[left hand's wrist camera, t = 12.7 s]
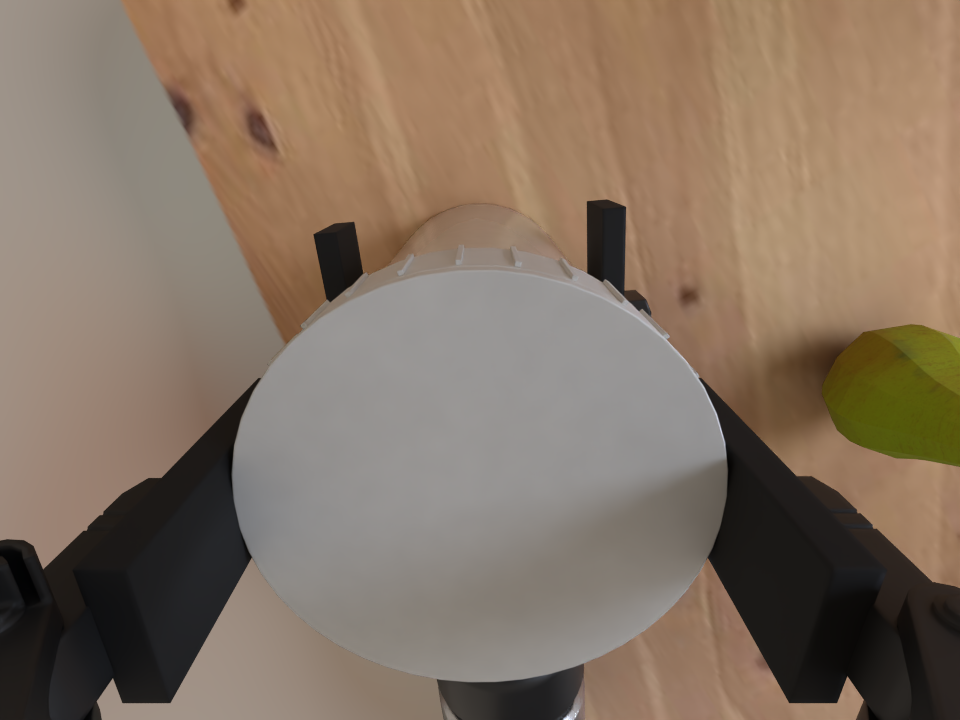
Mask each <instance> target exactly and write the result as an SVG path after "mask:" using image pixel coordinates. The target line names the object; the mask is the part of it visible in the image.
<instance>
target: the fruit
mask: <svg viewBox="0 0 960 720" xmlns="http://www.w3.org/2000/svg"><path fill="white" fill-rule="evenodd" d="M822 395H823V398H824V400H825V403H826V405H827V408H828V410H829V413H830V415H831V418H832V420H833V422H834V424H835V426H836V429H837V430H838V431H839V432H840V433H841V434H842V435H844V436H845V437H846V438H847V439H848V440H849V441H851V442H853V443H855V444H858V445H860V446H862V447H865V448H867V449H870V450H873V451H876V452H879V453H882V454H885V455H888V456H891V457H894V458H904V459H919V460H927V461H932V462H937V463H943V464H948V465H953V466H959V467H960V338H957V337H955V336H952V335H949V334H946V333H943V332H940V331H937V330H934V329H931V328H928V327H925V326H922V325H912V324H910V325H904V326H898V327H892V328H886V329H880V330H874V331H868V332H863V333H862V334H861V335H860V336H859V337H858V338H857V339H856V340H855V341H854V342H852V343H851V344H850V345H849V346H848V347H847V348H846V349H845V350H844V351H843V352H842V353H841V354H840V355H839V356H838V357H837V358H836V360H835V362H834V364H833V366H832V367H831V369H830V371H829V373H828V375H827V377H826V379H825V381H824V383H823V385H822Z"/></svg>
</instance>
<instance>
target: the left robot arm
mask: <svg viewBox="0 0 960 720" xmlns="http://www.w3.org/2000/svg"><path fill="white" fill-rule="evenodd" d="M698 379H699V380H700V382H701V383H702V384H703V386H704V388H705V390H706V392H707V394H708V396H709V398H710V400H711V403H712V405H713V407H714V409H715V411H716V413H717V416H718V420H719V423H720V427H721V430H722V434H723V437H724V441H725V448H726V456H727V465H728V483H727V498H726V503H725V507H724V512H723V517H722V522H721V526H720V529H719V532H718V535H717V537H716V540H715V543H714V546H713V548H712V550H711V552H710V554H709V556H708V559H709V560H710V562H711V564H712V566H713V568H714V569H715V571H716V573H717V575H718V576H719V578H720V580H721V582H722V584H723V585H724V587H725V589H726V591H727V593H728V594H729V596H730V598H731V600H732V601H733V603H734V605H735V607H736V609H737V610H738V612H739V614H740V616H741V618H742V619H743V621H744V623H745V625H746V626H747V628H748V630H749V632H750V634H751V635H752V637H753V639H754V641H755V643H756V644H757V646H758V648H759V650H760V651H761V653H762V655H763V657H764V659H765V660H766V662H767V664H768V666H769V668H770V669H771V671H772V673H773V675H774V676H775V678H776V680H777V682H778V684H779V685H780V687H781V689H782V691H783V693H784V694H785V696H786V698H787V700H788V702H789V703H837V702H838V699H839V697H840V694H841V691H842V689H843V686H844V683H845V681H846V678H847V676H848V677H849V679H850V680H851V682H852V683H853V685H854V686H855V687H856V689H857V690H858V692H859V693H860V695H861V696H862V697H863V699H864V701H863V704H862V706H861V709H860V711H859V714H858V716H857V719H856V720H960V588H958V587H955V586H950V585H945V584H940V583H935V582H932V581H931V580H930V579H929V578H928V577H927V576H926V575H925V574H924V573H922V572H921V571H920V570H919V569H918V568H917V567H916V566H915V565H914V564H913V563H912V562H911V561H910V560H909V559H908V558H907V557H906V556H905V555H904V554H903V553H901V552H900V551H899V550H898V549H897V548H896V547H895V546H894V545H893V544H892V543H891V542H890V541H889V540H888V539H887V538H886V537H885V536H884V535H883V534H882V533H881V532H879V531H878V530H877V529H873V527H872V526H873V525H872V524H871V523H870V522H869V521H868V520H867V519H866V518H865V517H864V516H863V515H862V514H861V513H857V510H856V509H855V508H854V507H853V506H852V505H851V504H850V503H849V502H848V501H847V500H846V499H845V498H844V497H843V496H842V495H841V494H840V493H839V492H837V491H836V490H834V489H832V488H831V487H829V486H827V485H825V484H824V483H822V482H820V481H819V480H817V479H815V478H813V477H812V476H796V475H795V474H794V473H793V472H792V471H791V470H790V469H789V468H788V467H787V466H786V465H785V464H784V463H783V462H782V461H781V460H780V459H779V458H778V457H777V456H776V455H775V454H774V453H773V452H772V451H771V450H770V448H769V447H768V446H767V445H766V444H765V443H764V442H763V441H762V440H761V439H760V438H759V437H758V436H757V435H756V434H755V433H754V432H753V431H752V430H751V429H750V428H749V427H748V426H747V425H746V424H745V423H744V422H743V421H742V420H741V419H740V418H739V417H738V416H737V415H736V413H735V412H734V411H733V410H732V409H731V408H730V407H729V406H728V405H727V404H726V403H725V402H724V401H723V400H722V399H721V398H720V397H719V396H718V395H717V394H716V393H715V392H714V391H713V390H712V389H711V388H710V387H709V386H708V385H707V384H706V383H705V382H704V381H703V380H702V378H698ZM260 380H261V378H258V379H257V380H256V381H255V382H254V383H253V384H252V385H251V386H250V388H248V390H247V391H246V392H245V393H244V394H243V395H242V396H241V397H240V398H239V399H238V400H237V401H236V402H235V403H234V404H233V405H232V406H231V407H230V408H229V409H228V410H227V411H226V412H225V413H224V414H223V415H222V416H221V417H220V418H219V419H218V420H217V421H216V422H215V423H214V424H213V425H212V427H211V428H210V429H209V430H208V431H207V432H206V433H205V434H204V435H203V436H202V437H201V438H200V439H199V440H198V441H197V442H196V443H195V444H194V445H193V446H192V447H191V448H190V449H189V450H188V451H187V452H186V453H185V454H184V455H183V456H182V457H181V458H180V459H179V460H178V462H177V463H176V464H175V465H174V466H173V467H172V468H171V469H170V470H169V471H168V472H167V473H166V474H165V475H164V476H163V477H162V478H148V479H146V480H145V481H143V482H141V483H139V484H138V485H136V486H134V487H133V488H131V489H129V490H128V491H126V492H124V493H123V494H121V495H120V496H119V497H118V498H117V499H116V500H115V501H114V502H113V503H112V504H111V505H110V506H109V507H108V508H107V509H106V510H105V511H104V513H103V515H100V516H98V517H97V518H96V519H95V520H94V521H93V522H92V523H91V524H90V525H89V526H88V529H87V531H83V532H82V533H81V534H80V535H79V536H78V537H77V538H76V539H75V540H73V541H72V542H71V543H70V544H69V545H68V546H67V547H66V548H65V549H64V550H63V551H62V552H61V553H60V554H59V555H58V556H57V557H56V558H55V559H54V560H53V561H52V562H51V563H50V564H49V565H47V566H46V567H45V568H44V569H43V568H42V566H41V563H40V561H39V559H38V556H37V554H36V551H35V549H34V546H33V545H31V544H29V543H28V542H26V541H24V540H9V539H7V540H1V541H0V720H102V719H101V713H100V709H99V706H98V704H97V700H98V699H99V697H100V696H101V694H102V693H103V691H104V690H105V688H106V687H107V685H108V684H109V683H110V681H111V680H112V678H113V679H114V682H115V684H116V687H117V690H118V692H119V695H120V698H121V700H122V703H171V701H172V699H173V697H174V696H175V694H176V692H177V690H178V688H179V687H180V685H181V683H182V681H183V679H184V678H185V676H186V674H187V672H188V671H189V669H190V667H191V665H192V663H193V662H194V660H195V658H196V656H197V654H198V653H199V651H200V649H201V647H202V646H203V644H204V642H205V640H206V638H207V637H208V635H209V633H210V631H211V629H212V628H213V626H214V624H215V622H216V621H217V619H218V617H219V615H220V613H221V612H222V610H223V608H224V606H225V604H226V603H227V601H228V599H229V597H230V595H231V594H232V592H233V590H234V588H235V587H236V585H237V583H238V581H239V579H240V578H241V576H242V574H243V572H244V571H245V569H246V567H247V565H248V563H249V562H250V560H251V558H252V557H251V555H250V553H249V551H248V548H247V546H246V543H245V541H244V538H243V536H242V533H241V530H240V527H239V522H238V518H237V513H236V509H235V504H234V499H233V489H232V463H233V452H234V444H235V440H236V436H237V433H238V429H239V425H240V421H241V417H242V415H243V413H244V411H245V408H246V406H247V404H248V402H249V399H250V397H251V395H252V393H253V390H254V389H255V387H256V386H257V384H258V383H259V381H260Z"/></svg>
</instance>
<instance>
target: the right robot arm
mask: <svg viewBox="0 0 960 720" xmlns="http://www.w3.org/2000/svg"><path fill="white" fill-rule="evenodd" d="M625 229H626V207H625V206H622V205H620V204H617V203H615V202H612V201H610V200H596V201H587V274H589V275H591V276H592V277H594V278H596V279H598V280H599V281H601V282H604V280H605V279H606V280H607V281H609V282H610V283H611V284H612V285H613V286H614V287H615V288H616V289H617V290H618V291H619V292H620V293H621V294H622V295H623V296H624V297H625V299H626V300H627V301H628V302H630V303H631V304H632V305H633V306H634V307H635V308H636V309H637V310H638V311H640V310H641V309H643V310H644V311H645V312H646V313H647V314H648V315H649V316H650V317H651V311H650V308H649V306H648V303H647V301H646V299H645V298H644V297H643V296H641V295H640V294H639V293H638V292H637V291H636V290H630V291H624V279H625ZM314 239H315V244H316V249H317V254H318V259H319V264H320V269H321V274H322V279H323V284H324V289H325V294H326V299H327V300H328V301H329V302H332V301H333V300H334V299H335V298H336V297H338V296H339V295H340V294H341V293H342V292H344V291H345V290H346V289H347V288H349V287H351V286H352V285H353V284H354V283H355V282H356V281H357V280H358V279H359V278H360V277H361V276H362V274H363V270H362V264H361V258H360V252H359V247H358V241H357V235H356V229H355V223H354V222H347V223H336V224H333V225H331V226H329V227H327V228H325V229H323V230H321V231H319V232H317V233H315V234H314ZM583 673H584V663H583V664H580V665H578V666H575V667H572V668H569V669H565V670H562V671H558V672H555V673H552V674H548V675H542V676H537V677H532V678H527V679H521V680H510V681H500V682H461V681H449V680H439V679H437V682H438V686H439V687H438V688H439V695H440V701H441V707H442V712H443V718H444V720H585V686H584V674H583Z"/></svg>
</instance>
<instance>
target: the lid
mask: <svg viewBox="0 0 960 720" xmlns="http://www.w3.org/2000/svg"><path fill="white" fill-rule="evenodd" d="M300 326H301V327H302V328H303V330H302V331H301V332H300V333H299V334H296V335H295V336H294V337H293V338H292V339H291V340H290V341H289V342H288V343H287V344H286V345H285V346H284V347H283V348H282V349H281V350H280V351H279V352H278V353H277V354H276V355H275V356H274V357H273V358H272V359H271V360H270V361H269V363H268V365H269V367H268V369H267V370H266V372H265V374H264V375H263V377H262V378H261V380H260V381H259V383H258V384H257V386H256V387H255V389H254V390H253V393H252V395H251V397H250V399H249V402H248V404H247V406H246V408H245V411H244V413H243V415H242V417H241V421H240V425H239V429H238V433H237V436H236V440H235V444H234V452H233V463H232V489H233V499H234V504H235V509H236V513H237V518H238V522H239V527H240V530H241V533H242V536H243V538H244V541H245V543H246V546H247V548H248V551H249V553H250V555H251V557H252V558H253V560H254V562H255V563H256V565H257V567H258V569H259V571H260V572H261V574H262V576H263V577H264V578H265V580H266V581H267V582H268V584H269V585H270V586H271V588H272V589H273V590H274V592H275V593H276V594H277V596H278V597H279V598H280V599H281V600H282V601H283V602H284V603H285V604H286V605H287V606H288V607H289V608H290V609H291V610H292V611H293V612H294V613H295V614H296V615H297V616H298V617H299V618H301V619H302V620H303V621H304V622H306V623H307V624H308V625H309V626H311V627H312V628H313V629H314V630H315V631H317V632H318V633H320V634H321V635H323V636H324V637H326V638H327V639H329V640H331V641H332V642H334V643H335V644H337V645H338V646H340V647H342V648H344V649H346V650H348V651H350V652H352V653H354V654H356V655H358V656H360V657H362V658H364V659H367V660H369V661H372V662H375V663H377V664H380V665H382V666H385V667H388V668H391V669H395V670H398V671H402V672H405V673H409V674H413V675H417V676H423V677H428V678H434V679H439V680H449V681H461V682H500V681H510V680H521V679H527V678H532V677H537V676H542V675H548V674H552V673H555V672H558V671H562V670H565V669H569V668H572V667H575V666H578V665H580V664H583V663H585V662H588V661H590V660H593V659H595V658H598V657H600V656H602V655H604V654H606V653H608V652H610V651H612V650H614V649H616V648H618V647H619V646H621V645H623V644H625V643H626V642H628V641H629V640H631V639H632V638H634V637H635V636H637V635H638V634H640V633H641V632H643V631H644V630H646V629H647V628H648V627H650V626H651V625H652V624H653V623H654V622H656V621H657V620H658V619H659V618H660V617H661V616H663V615H664V614H665V613H666V612H667V611H668V610H669V609H670V608H671V607H672V606H673V605H674V604H675V603H676V602H677V601H678V599H679V598H680V597H681V596H682V595H683V594H684V593H685V592H686V590H687V589H688V588H689V586H690V585H691V583H692V582H693V581H694V579H695V578H696V577H697V575H698V574H699V572H700V571H701V569H702V567H703V565H704V563H705V561H706V560H707V558H708V556H709V554H710V552H711V550H712V548H713V546H714V543H715V540H716V537H717V535H718V532H719V529H720V526H721V522H722V517H723V512H724V507H725V503H726V498H727V483H728V465H727V456H726V448H725V441H724V437H723V434H722V430H721V427H720V423H719V420H718V416H717V413H716V411H715V409H714V407H713V405H712V403H711V400H710V398H709V396H708V394H707V392H706V390H705V388H704V386H703V384H702V383H701V382H700V380H699V379H698V377H699V375H698V373H697V372H696V371H695V370H694V369H693V368H692V367H691V366H690V365H689V364H688V363H687V361H686V360H685V359H684V358H683V357H682V356H681V355H680V354H679V352H678V351H677V350H676V349H675V348H674V347H673V346H672V345H671V344H670V343H669V342H668V341H667V340H666V339H668V338H669V337H670V336H669V335H668V334H667V333H666V332H665V331H664V330H663V329H662V328H661V327H660V326H659V325H658V324H657V323H656V322H655V321H654V320H653V319H652V318H651V317H650V316H649V315H648V314H647V313H646V312H645V311H644V310H643V309H641V310H640V311H638V310H637V309H636V308H635V307H634V306H633V305H632V304H631V303H630V302H628V301H627V300H626V299H625V297H624V296H623V295H622V294H621V293H620V292H619V291H618V290H617V289H616V288H615V287H614V286H613V285H612V284H611V283H610V282H609V281H607V280H606V279H605V280H604V282H601V281H599V280H598V279H596V278H594V277H592V276H591V275H589V274H587V273H586V272H584V271H582V270H579V269H577V268H575V267H572V266H570V265H569V264H568V263H567V261H566V260H565V259H563V258H560V260H559V261H558V260H555V259H551V258H548V257H544V256H540V255H536V254H532V253H528V252H524V251H517V249H516V247H515V246H510V250H508V249H500V248H464V245H459V246H458V249H451V250H444V251H437V252H430V253H427V254H423V255H420V256H416V257H414V255H413V253H412V254H409V255H408V256H407V257H406V259H405V260H402V261H399V262H397V263H395V264H392V265H390V266H388V267H385V268H383V269H381V270H378V271H376V272H374V273H372V274H370V275H368V274H367V272H366V273H364V274H362V276H361V277H360V278H359V279H358V280H357V281H356V282H355V283H354V284H353V285H352V286H351V287H349V288H347V289H346V290H345V291H344V292H342V293H341V294H340V295H339V296H338V297H336V298H335V299H334V300H333V301H332V302H329V301H328V300H326V301H325V302H324V303H323V304H322V305H321V306H320V307H319V308H318V309H317V310H316V311H315V312H314V313H313V314H312V315H311V316H310V317H309V318H308V319H307V320H306V321H305V322H303V323H302V324H301V325H300Z"/></svg>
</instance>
